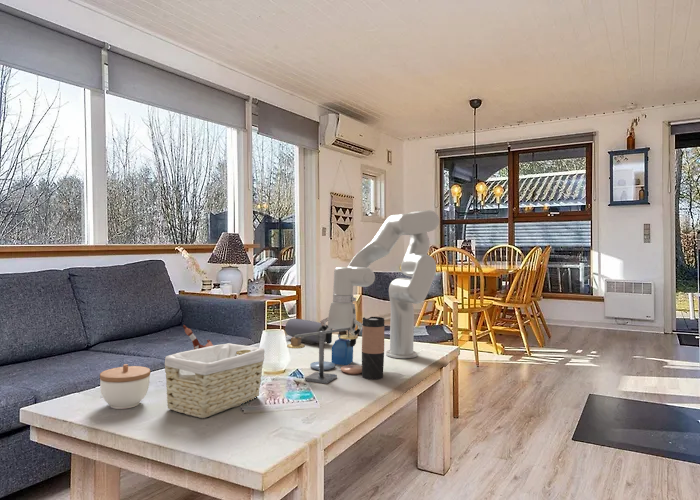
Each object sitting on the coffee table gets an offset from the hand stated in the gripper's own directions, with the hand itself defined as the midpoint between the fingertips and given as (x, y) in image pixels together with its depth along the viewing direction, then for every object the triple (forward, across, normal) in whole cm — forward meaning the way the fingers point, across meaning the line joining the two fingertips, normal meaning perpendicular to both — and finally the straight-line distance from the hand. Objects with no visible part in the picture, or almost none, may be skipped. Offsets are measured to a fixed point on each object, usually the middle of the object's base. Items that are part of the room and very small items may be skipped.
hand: (340, 344), depth 185 cm
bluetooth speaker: (+7, +29, -30) cm, 43 cm away
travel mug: (+7, -18, +13) cm, 23 cm away
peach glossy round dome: (+7, -9, +9) cm, 15 cm away
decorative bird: (+9, +34, +37) cm, 51 cm away
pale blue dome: (+7, +3, +9) cm, 12 cm away
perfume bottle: (+7, -1, -1) cm, 7 cm away
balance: (+7, -3, +23) cm, 25 cm away
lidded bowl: (+10, +34, +69) cm, 78 cm away
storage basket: (+9, +12, +58) cm, 60 cm away
